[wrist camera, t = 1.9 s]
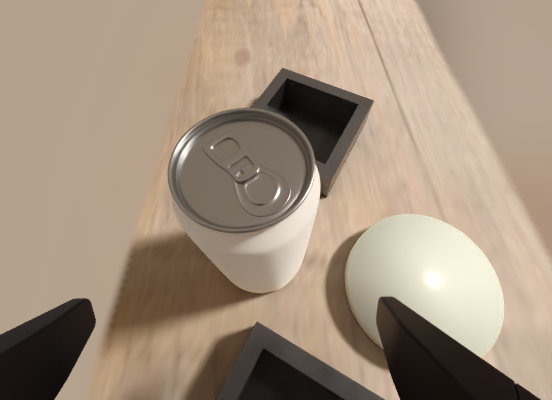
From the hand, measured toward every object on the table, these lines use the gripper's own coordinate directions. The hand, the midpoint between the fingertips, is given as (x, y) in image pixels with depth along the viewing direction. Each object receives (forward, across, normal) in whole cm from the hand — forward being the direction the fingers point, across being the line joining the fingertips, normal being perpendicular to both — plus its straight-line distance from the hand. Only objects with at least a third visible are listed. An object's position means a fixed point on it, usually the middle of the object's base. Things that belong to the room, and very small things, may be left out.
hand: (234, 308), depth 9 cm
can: (+12, 0, +5) cm, 13 cm away
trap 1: (+19, -4, -3) cm, 20 cm away
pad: (+10, -11, +6) cm, 16 cm away
